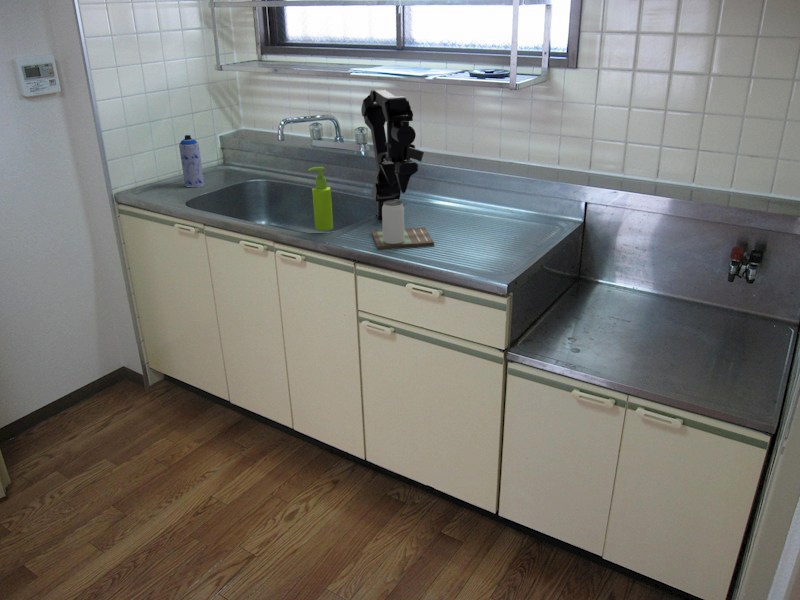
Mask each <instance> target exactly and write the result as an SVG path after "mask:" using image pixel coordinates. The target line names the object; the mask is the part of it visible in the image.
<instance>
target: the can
mask: <svg viewBox="0 0 800 600" xmlns="http://www.w3.org/2000/svg"><path fill="white" fill-rule="evenodd" d="M383 204H384V205H383V207H382V219H381V220H382V222H381V223H382V230H383V241H384V242H385V243H387V244H400V243H402V242H403V241H404V228H405V207H404V205H403V201H401V200H400V199H395V200H388V201H385V202H383Z"/></svg>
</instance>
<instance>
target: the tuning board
mask: <svg viewBox="0 0 800 600" xmlns="http://www.w3.org/2000/svg"><path fill="white" fill-rule="evenodd" d="M371 235H372V238H373V241H374V243H375V246H376V249H377V248H378V249H379V250H390V249H391V250H392V248H393V249H403V248H405V249H406V248H419V247H431V246H435V242H434V240H433V237H431V235H430V233H429V231H428V230H427V228H426V227H425V226H423V227H421V226H419V227H407V228H405V227H404V241H403V242H402V243H400V244H387V243H385V242H384V241H383V229H377V230H371ZM378 249H377V250H378Z"/></svg>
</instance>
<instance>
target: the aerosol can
mask: <svg viewBox="0 0 800 600" xmlns="http://www.w3.org/2000/svg"><path fill="white" fill-rule="evenodd" d="M178 145H179V146H178V148H179V153H180V160H181V166H182V168H181V169H182V174H183V175H182V176H183V180H184V186H185V185H186V186H190V187H198V188H200V187H199V186H202V187H204V186H205V185H204V184H205V179H204V174H203V173H204V172H203V165H202V159H201V151H200V146H199V142H198V141H197V140H196V139H194V138H192V137H191V134H186V135H184V138H183V139H182V140H180V142H179V143H178ZM203 185H204V186H203Z"/></svg>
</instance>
